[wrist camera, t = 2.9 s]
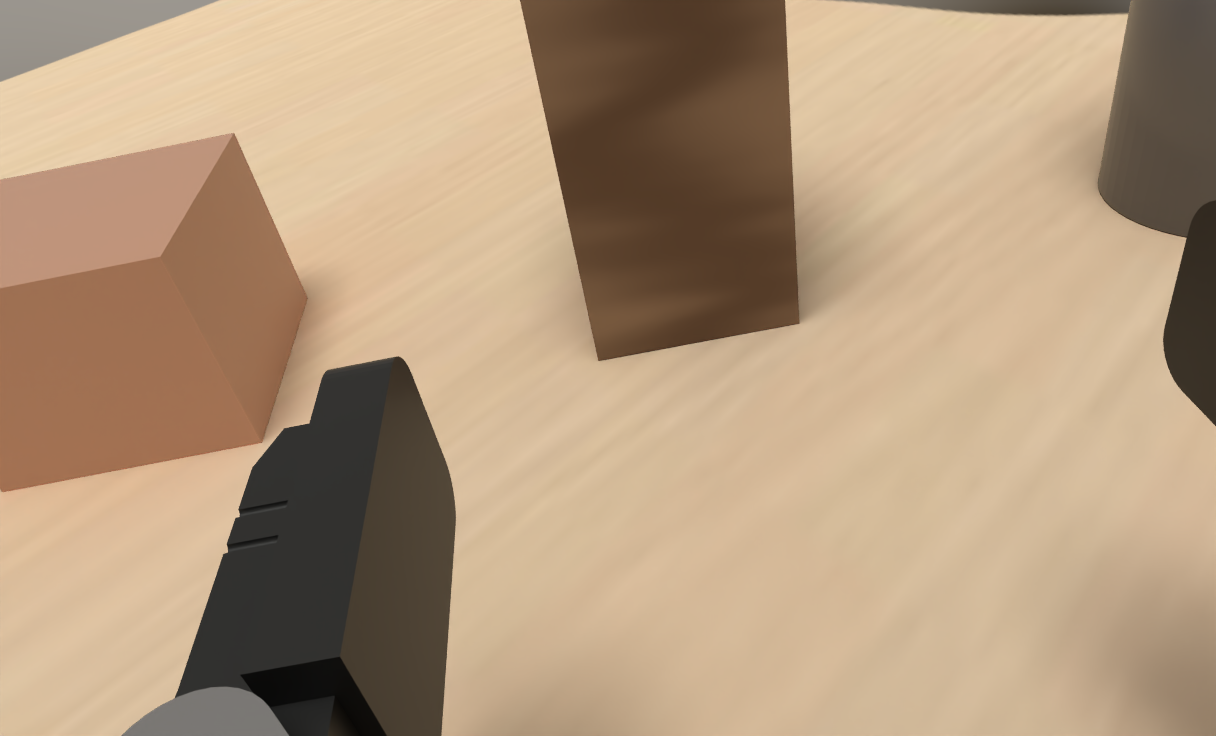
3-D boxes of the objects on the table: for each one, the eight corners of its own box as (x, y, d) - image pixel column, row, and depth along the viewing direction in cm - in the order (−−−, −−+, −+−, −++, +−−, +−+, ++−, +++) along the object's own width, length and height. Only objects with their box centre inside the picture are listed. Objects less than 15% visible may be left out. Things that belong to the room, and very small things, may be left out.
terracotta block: (5, 495, 20) (-142, 316, 17) (99, 342, 25) (-4, 180, 22) (264, 446, 20) (160, 256, 17) (309, 301, 25) (234, 133, 22)
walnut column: (598, 360, 20) (475, -203, 14) (584, 258, 24) (482, -227, 17) (798, 323, 20) (773, -265, 14) (755, 226, 24) (717, -275, 17)
